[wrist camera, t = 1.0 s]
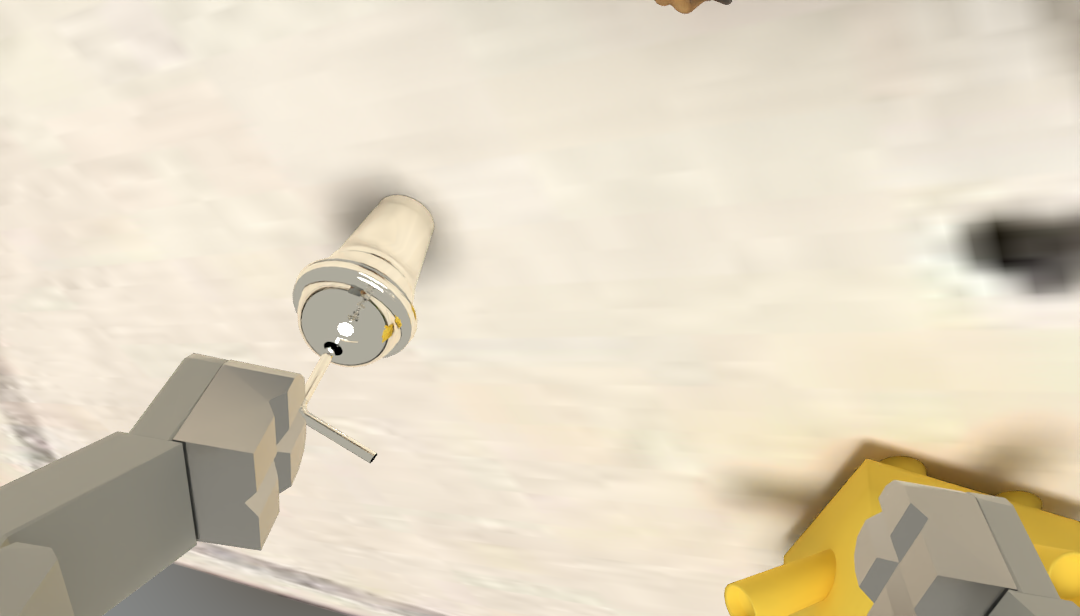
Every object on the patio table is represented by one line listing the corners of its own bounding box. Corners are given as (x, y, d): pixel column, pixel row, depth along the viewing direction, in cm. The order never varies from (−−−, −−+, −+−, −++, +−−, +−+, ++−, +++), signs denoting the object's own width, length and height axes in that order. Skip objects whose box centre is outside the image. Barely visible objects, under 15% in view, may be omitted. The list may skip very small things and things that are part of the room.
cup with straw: (401, 151, 57) (273, 356, 42) (487, 240, 60) (396, 455, 46) (328, 204, 61) (191, 404, 47) (412, 283, 65) (309, 490, 51)
